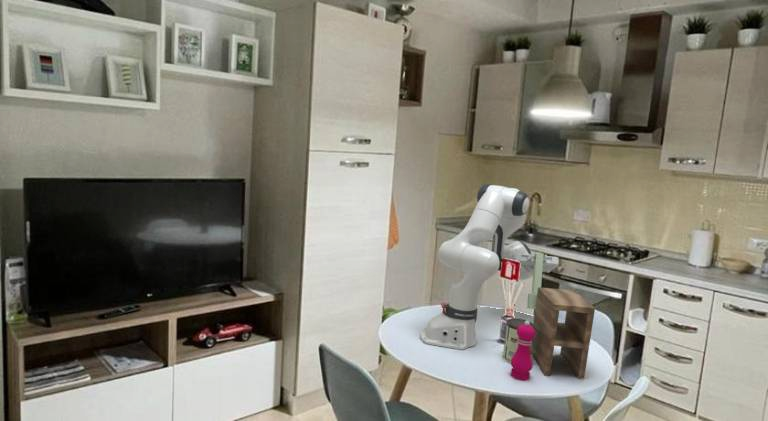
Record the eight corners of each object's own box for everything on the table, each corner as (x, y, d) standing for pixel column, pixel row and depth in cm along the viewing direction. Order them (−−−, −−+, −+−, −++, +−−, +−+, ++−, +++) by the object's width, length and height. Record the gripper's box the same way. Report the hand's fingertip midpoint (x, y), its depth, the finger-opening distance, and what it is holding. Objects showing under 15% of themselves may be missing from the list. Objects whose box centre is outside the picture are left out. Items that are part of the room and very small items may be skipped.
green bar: (527, 307, 222) (529, 308, 219) (531, 252, 224) (533, 252, 221) (541, 308, 222) (543, 309, 219) (544, 253, 224) (546, 253, 221)
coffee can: (529, 355, 196) (534, 320, 194) (531, 367, 186) (536, 330, 184) (501, 351, 198) (506, 316, 196) (502, 362, 188) (507, 325, 186)
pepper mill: (533, 381, 175) (541, 325, 172) (513, 380, 175) (520, 324, 172) (526, 371, 182) (533, 317, 179) (506, 370, 182) (513, 316, 179)
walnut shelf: (544, 375, 180) (554, 304, 177) (529, 351, 200) (538, 287, 196) (584, 379, 180) (595, 308, 176) (565, 354, 200) (574, 290, 196)
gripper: (507, 255, 235) (515, 246, 222) (552, 259, 235) (563, 250, 222) (507, 268, 232) (515, 260, 220) (552, 273, 232) (563, 264, 219)
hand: (539, 255), depth 221 cm, fingers closed on green bar, 3 cm apart
